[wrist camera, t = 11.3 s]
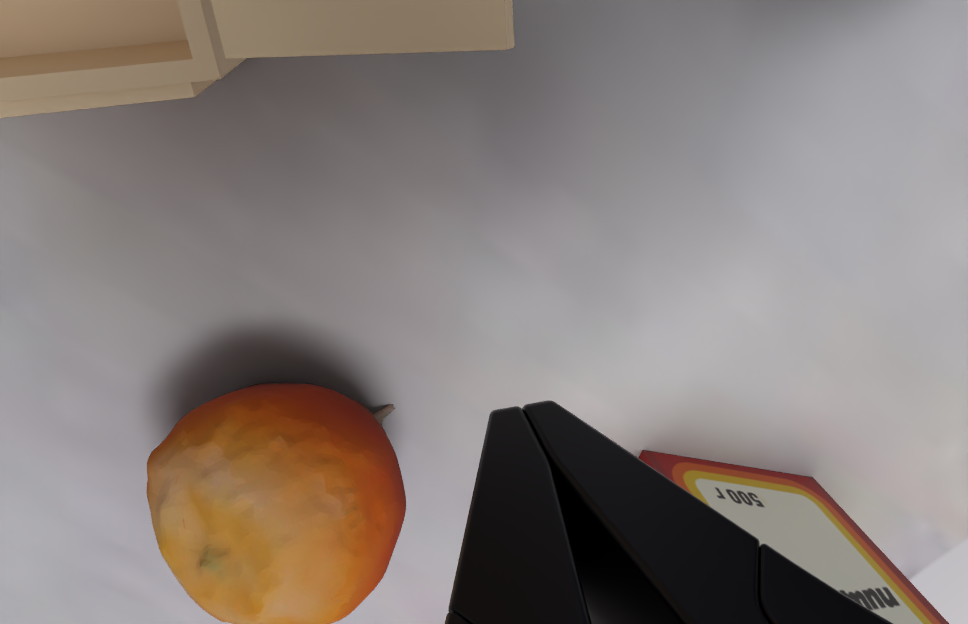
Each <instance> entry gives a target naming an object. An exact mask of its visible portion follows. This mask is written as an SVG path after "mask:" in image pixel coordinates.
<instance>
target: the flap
mask: <svg viewBox="0 0 968 624" xmlns="http://www.w3.org/2000/svg"><path fill="white" fill-rule="evenodd" d="M211 3H212V7H213V11H214V15H215V19H216V22H217V26H218V30H219V34H220V38H221V42H222V46H223V50H224V54H225V58H226V59H229V58H261V57H293V56H326V55H358V54H390V53H422V52H455V51H487V50H508V49H511V48H514V47H515V46H514V26H513V5H512V0H211Z"/></svg>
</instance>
